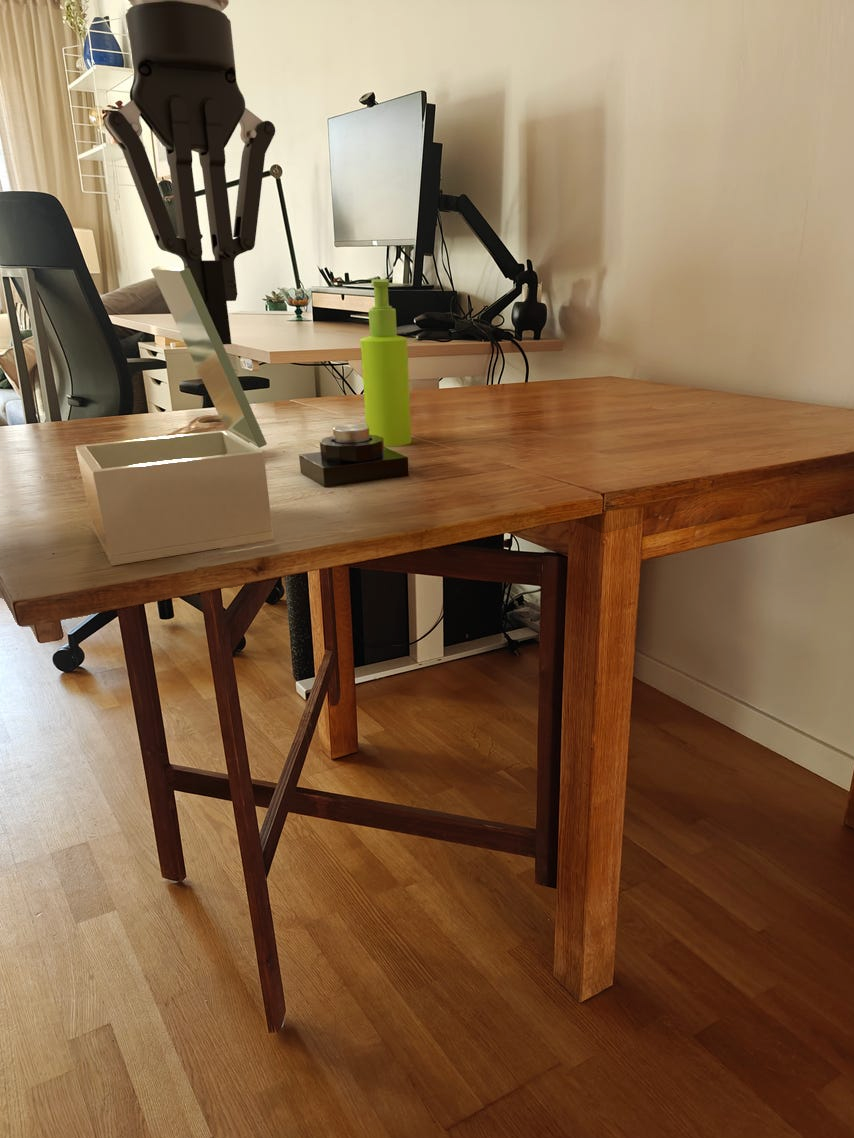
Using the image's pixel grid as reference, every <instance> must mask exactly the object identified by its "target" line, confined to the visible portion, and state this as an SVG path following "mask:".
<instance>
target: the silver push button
mask: <svg viewBox="0 0 854 1138" xmlns="http://www.w3.org/2000/svg"><path fill="white" fill-rule="evenodd" d="M332 436H333V437H334V443H339V444H358V443H366V442H369V441H370V436H369V427H368V426H366V424H358V423H352V424H350V423H349V424H339V425H336V426H334V427H333V428H332Z"/></svg>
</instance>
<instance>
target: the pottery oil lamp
mask: <svg viewBox="0 0 854 1138" xmlns="http://www.w3.org/2000/svg"><path fill="white" fill-rule="evenodd" d="M223 430H229V429H228V428H226V427H224V425H223V423H222V421H221V419H220V417H219V415H218V414H205V415H200V416H197V417H195V418H193V419H192V420H190V421H189V422H188V423H187V425H186V426H183V427H180V428H177V429H175V430H173V431H171V432H170V433H167V434H166V435H164V436H163V437H165V436H175V435H185V434H194V433H204V432H214V431H223ZM229 431H230V432H232V431H231V430H229ZM232 433H234V432H232ZM234 434H235V435H237V434H236V433H234ZM237 436H238V437H240V438H242V437H241V436H239V435H237ZM242 439H243V440H245V439H244V438H242ZM245 441H247V440H245ZM247 442H248V443H250V442H249V441H247ZM250 444H251V443H250Z"/></svg>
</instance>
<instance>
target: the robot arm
mask: <svg viewBox="0 0 854 1138" xmlns="http://www.w3.org/2000/svg"><path fill="white" fill-rule="evenodd" d="M125 1H126V2H127V3H128V5H131V6H130V7H129V8H128V9H127V12H126V13H125V22H126V29H127V30H126V31H127V36H128V42H129V49H130V57H131V64H132V70H133V72H132V73H133V81H132V84H131V87H130V90H129V101H128V102H127V103H126V104H124V105H123V106H122V107H120V108H119V109H118V110H113V111H111V112H110V113H108V114H107V115H106V116H105V117H104V119H103V126H104V128H105V129H106V131H107V132H108V134H109V135H110V136H111V137H112V139H113V140H114V141H115V143H116V144H117V145H118V147H119V148H120V149H121V151H122V154H123V156H124V160H125V162H126V164H127V167H128V170H129V172H130V176H131V178H132V180H133V183H134V186H135V188H136V191H137V194H138V196H139V199H140V202H141V205H142V207H143V210H144V213H145V216H146V218H147V220H148V222H149V226H150V229H151V231H152V234H153V237H154V239H155V242H156V244H157V247H158V248H159V249H160V250H161V251H163V252H167V253H169V254H171V255H175V256H176V257H177V256H178V257H179V258H180V259H181V261H182V263H183V266H184V267H183V268H189V269H190V271H191V274H192V276H193V278H194V280H195V283H196V285H197V287H198V289H199V292H200V294H201V296H202V298H203V301H204V303H205V305H206V307H207V310H208V312H209V314H210V316H211V319H212V321H213V323H214V325H215V328H216V330H217V332H218V334H219V337H220V339H221V341H222V344H223V346H225V345H232V336H231V327H230V319H229V310H228V302H235V301H237V298H238V287H237V278H236V269H235V260H236V258H237V256H239V255H242V254H244V253H246V252H250V251H252V250H253V249H254V248H255V245H256V239H257V231H258V230H257V229H258V220H259V213H260V211H259V210H260V202H261V195H262V194H261V193H262V184H263V177H264V168H265V158H266V153H267V151H268V149H269V148H270V145H271V143H272V141H273V138H274V136H275V135H276V127H275V125H274V124H273V122H272V121H270V120H262V119H261V118H260V117H259V116H257V114H255V113H253V112H252V111H250V109H248V108H247V107H246V100H245V97H244V95H243V93H242V92H241V89H240V88H239V84H238V81H237V80H238V79H237V70H236V69H237V68H236V62H235V50H234V43H233V42H234V41H233V31H232V23H231V20H230V18H229V17H228V16H227V14H225V13H224V12H223V11H224V10H225V9H227V7H228V6H229V3H230V0H125ZM140 117H141V119H142V120H143V122H144V123H145V124H146V126H147V127H148V128H149V130H150V131H151V132H152V133H153V135H154V136H155V138H156V139H157V140H158V141H159V142H160V144H161V145H162V146H163V147H164V148H165V154H166V161H167V165H168V168H169V173H170V175H169V176H170V181H171V189H172V197H173V202H174V203H173V204H174V212H175V219H176V226H177V234H176V231H175V227H174V226H173V225H174V224H173V222H172V220H171V217H170V214H169V211H168V209H167V206H166V203H165V201H164V198H163V195H162V192H161V189H160V187H159V183H158V181H157V179H156V176H155V172H154V170H153V167H152V165H151V162H150V159H149V156H148V153H147V151H146V149H145V146H144V143H143V142H142V140H141V138H140V137H141V136H142V134H143V127H142V124H141V122H140ZM238 125H239V126H240V134H239V135H240V139H241V141H242V142H243V144H244V146H243V149H242V153H241V160H240V170H239V177H238V186H237V187H238V188H237V198H236V207H235V216H234V217H235V218H234V224H233V227H232V218H231V210H230V202H229V192H228V184H227V176H226V153H225V148H226V147H227V146H228V143H229V142H230V139H231V137H232V136H233V134H234V132H235V131H236V129H237V127H238ZM193 152H195V153H198V158H199V164H200V167H201V171H202V178H203V188H204V194H205V195H204V196H205V202H206V211H207V217H208V218H207V219H208V220H207V221H208V226H209V227H208V228H209V236H210V245H211V252H212V255H213V257H214V259H213V260H212V259H210V260H208V259H207V260H206V259H203V244H202V237H201V228H200V221H199V213H198V212H199V211H198V204H197V195H196V188H195V182H194V181H195V180H194V172H193ZM177 235H178V236H177Z"/></svg>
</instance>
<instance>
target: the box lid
mask: <svg viewBox="0 0 854 1138" xmlns="http://www.w3.org/2000/svg"><path fill="white" fill-rule="evenodd" d="M150 270H151V273H152V275H153V277H154V279H155V282H156V284H157V286H158V288H159V291H160V292H161V294H162V297H163V299H164V301H165V303H166V305H167V308H168V310H169V311H170V314H171V316H172V318H173V320H174V323H175V324H176V326H177V329H178V331H179V333H180V335H181V337H182V339H183V342H184V344H185V346H186V348H187V351H188V352H189V355H190V356H191V359H192V361H193V363H194V365H195V367H196V370H197V372H198V374H199V376H200V378H201V381H202V382H203V384H204V386H205V389H206V391H207V392H208V395H209V398H210V399H211V402H212V404H213V406H214V408H215V410H216V412H217V415H219V417H220V419H221V421H222V423H223V425H224V427H226V428H228V429H229V430H231V431H232V432H234V433H236V434H237V435H239V436H241V437H242V438H244V439H245V440H247V441H249V442H250V444H251V445H253V446H255V447H256V448H258V449H260V448H262V447H265V446H267V444H268V443H267V440H266V439H265V436H264V434H263V431H262V430H261V427H260V425H259V423H258V420H257V418H256V416H255V414H254V411H253V409H252V407H251V403H250V402H249V400H248V398H247V396H246V394H245V391H244V389H243V386H242V384H241V382H240V380H239V377H238V375H237V373H236V371H235V368H234V366H233V364H232V362H231V360H230V358H229V355H228V353H227V351H226V350H227V349H226V348H225V345H223V344H222V341H221V339H220V337H219V334H218V332H217V330H216V328H215V325H214V323H213V321H212V319H211V316H210V314H209V312H208V310H207V307H206V305H205V303H204V301H203V298H202V296H201V294H200V292H199V289H198V287H197V285H196V283H195V280H194V278H193V276H192V274H191V271H190V269H189V268H184V267H178V266H177V267H176V266H175V267H174V266H160V265H159V266H156V267H153V268H151V269H150Z"/></svg>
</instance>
